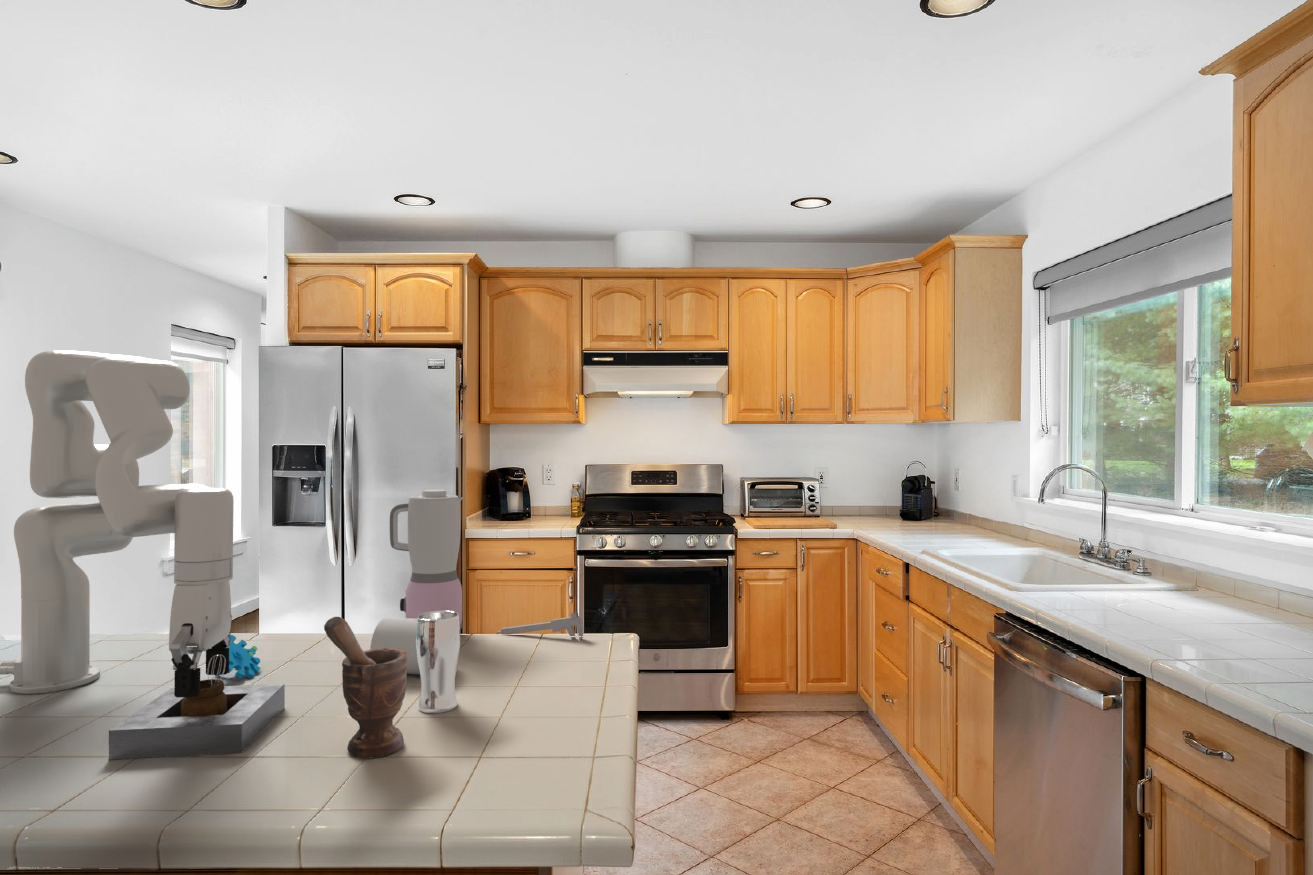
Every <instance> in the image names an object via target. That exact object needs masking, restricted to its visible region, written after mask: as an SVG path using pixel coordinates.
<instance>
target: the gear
mask: <svg viewBox="0 0 1313 875" xmlns="http://www.w3.org/2000/svg"><path fill="white" fill-rule="evenodd" d="M229 639H230V646H229V647H226V648H229V672H228V673H227V674H230V673H231V672H232V671H233V670H234V669H235V670H237V672H235V674H234V675H235V677H237V678H239V679H242V678H243V677H244V676H245V677H246V678H248V679H251V678H253V677H254V676H255V675H256V674H257V673H258V672H259V671H260V670H261V667H260V666H258V665H259V664H260V663H261V659H260V657H257V656H254V655H255V654H256V652H257V651H258V647H257V646H255V645H253V646H252V647H251V648H245V647H246V646H247V645H248V643H247V642H246V641H245V640H244V639H241V640H240V641H238V643H235V640H236V639H237V637H236V636H235V635H233V634H230V636H229ZM214 676H215V677H217V678H218V677H221V675H214Z"/></svg>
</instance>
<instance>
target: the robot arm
mask: <svg viewBox="0 0 1313 875" xmlns="http://www.w3.org/2000/svg"><path fill="white" fill-rule="evenodd" d="M24 388H25V393H26V396H27V400H28V403H29V407H30V410H31V415H32V435H31V446H30V447H31V448H30V462H29V484H30V488H31V490H32V492H34V494H36V495H37V496H39V497H42V498H47V499H72V498H73V499H74V498H75V499H76V498H89V497H90V498H92V497H94V498H95V497H97V499H98V501H99V502H87V503H65V504H64V503H63V504H50V505H42V506H38V507H35V508H31V509H29V510H26V511H25V512H23V513H22V514H21V515H20V516H18V517H17V519H16V520H15V523H14V525H13V526H14V527H13V538H14V544H15V548H16V553H17V556H18V557H17V558H18V563H19V573H20V594H21V595H20V599H21V602H20V604H21V605H20V606H21V607H20V608H21V611H20V612H21V616H20V618H21V621H20V623H21V624H20V625H21V626H20V630H21V631H20V632H21V633H20V635H21V636H20V641H21V642H20V654H21V655H20V657H21V658H20V659H19V660H3V661H1V663H0V675H13V679H12V680H11V681H10V682H9V686H8V688H9V691H10V692H11V693H14V694H23V695H25V694H26V695H27V694H28V695H33V694H44V693H45V694H47V693H51V692H57V691H58V692H59V691H64V690H69V689H72V688H76V687H80V686H83V685H87V684H88V683H92V682H93V681H96V680H97V679H98V678H99V677H100V676H101V669H100V668H99V667H97V666H94V665H90V659H91V658H90V657H91V656H90V654H91V652H90V651H91V650H90V649H91V648H90V646H91V645H90V643H91V642H90V637H91V636H90V635H91V634H90V630H91V629H90V622H91V621H90V620H91V618H90V617H91V616H90V612H91V611H90V605H91V604H90V602H91V600H90V598H91V597H90V590H91V588H90V586H91V585H90V580H89V577H88V575H87V574H86V572H85V571H84V570H83V569H82V568H81V567H80V566H79V565H78V564H77V563H76V562H75V561H74V558H79V557H83V556H91V555H99V554H107V553H114V552H119V551H122V550H124V549H125V548H127V547H128V546H129V545H130V544H131V543H132V541H133V538H139V537H148V536H149V537H150V536H157V535H158V536H159V535H166V534H167V535H168V534H174V546H173V547H174V548H173V549H174V550H173V551H174V554H173V555H174V560H173V566H174V567H173V569H174V570H173V583H174V584H175V585H174V590H173V594H172V595H173V596H172V601H171V607H170V617H169V618H170V619H169V620H170V621H169V634H168V636H169V637H168V649H169V650H168V651H169V652H170V654H171V657H172V658H171V663H172V664H173V666H172V670H173V671H174V683H173V684H174V695H175V697H197V696H198V695H200V681H201V667H198V666H199V663H200V659H201V656H202V654H203V653H204V652H205V674H206V675H207V676H211V673H212V676H215V675H217V673H218V675H219V674H220V676H224V675H225V676H226V675H227V674H229V673H228V672H229V648H226V647H229V646H230V639H229V636H230V635H231V634H232V629H231V628H232V627H231V626H232V622H233V621H232V620H233V615H232V602H231V601H232V600H231V598H232V597H231V585H230V584H231V583H230V581H231V580H233V578H234V574H233V573H234V504H235V503H234V496H233V495H234V494H233V493H232V491H231V490H229V489H228V488H225V487H210V486H208V485H206V484H202V483H193V482H192V483H190V482H189V483H174V484H173V483H169V484H150V485H149V484H148V485H147V484H146V485H140V467H139V463H138V459H141V458H144V457H146V456H148V455H151V454H154V453H155V452H156V451H158V450H160V449H162V448H163V447H164V446H166V445H167V444H168V443H169V442H170V440H171V438H172V437H173V433H174V428H173V425H172V423H171V421H170V419H169V417H168V415H167V412H166V411H165V410H177V409H179V408H181V407H182V406H184V405H185V404H186V403H187V402H188V399H189V397H190V391H191V389H190V388H191V387H190V381H189V377H188V376H187V373H186V372H185V370H184V369H183V368H182V367H180V366H179V365H178V364H177V363H175V362H173V361H169V360H161V359H155V358H150V357H148V358H147V357H143V356H135V355H128V354H127V355H125V354H113V353H112V354H111V353H103V352H102V353H101V352H93V351H82V350H69V349H67V350H65V349H64V350H63V349H59V350H46V351H42V352H40V353H37V354H35V355H34V356H32V358H31V359H30V360H29V362H28V364H27V366H26V368H25V374H24ZM83 402H93V405H94V407H95V409H96V412H97V413H98V416H99V418H100V421H101V423H102V425H103V428H104V431H105V432H106V434H107V436H108V438H109V441H110V443H109V444H94V433H95V421H94V417H93V415H92V413H91V411H90V410H89V409H88V408H87V406H86V405H85V403H83ZM218 654H220V655H218ZM190 655H192V658H191V657H190ZM214 655H216V657H215V656H214ZM222 655H223V656H224V657H225V658H224V657H223V656H222ZM217 656H218V657H217ZM220 656H221V658H222V660H221V659H220ZM214 658H215V659H214ZM216 658H217V659H216ZM210 659H212V660H210ZM225 659H226V661H225ZM209 661H211V662H209ZM213 661H214V663H213ZM215 661H216V662H215ZM221 662H222V665H221ZM225 662H226V665H225V666H224V664H225ZM219 663H220V665H219ZM209 664H210V666H209V667H208V665H209ZM212 666H213V668H212ZM214 666H215V667H214ZM208 669H209V671H208ZM218 669H219V671H218ZM220 669H221V671H220ZM224 669H225V671H223V670H224ZM207 671H208V674H207ZM213 671H214V673H213ZM222 673H224V674H222Z"/></svg>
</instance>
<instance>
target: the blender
mask: <svg viewBox="0 0 1313 875" xmlns="http://www.w3.org/2000/svg"><path fill="white" fill-rule="evenodd" d="M463 499H464V497H461V496H458V495H454V494H447V490H446V489H425V490H424V489H423V490H422V492H421V495H413V496H409V498H408V503H401V504H396V505H395V506H393V508H392V509H391V511H390V512H389V542H390V546H391V548H393V549H394V550H397V551H402V552H408V553H409V560H410V563H411V576H410V579H409V581H408V583H407V585H406V586H405V591H404V593H405V596H404V598H401V599H400V601H399V602H400V603H399V610H400V612H404V613H405V618H412V619H417V616H418V615H420V614H422V613H426V612H431V611H454V612H457V613H458V614H459V625H460V630H462V629H463V622H464V621H463V588H462V584H461V581H460V579H459V577H458V574H457V564H458V558H459V551H460V545H461V501H462V500H463ZM404 512H407V542H400V541H399V531H398V530H399V529H398V528H399V514H400V513H404Z"/></svg>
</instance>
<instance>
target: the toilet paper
mask: <svg viewBox="0 0 1313 875" xmlns="http://www.w3.org/2000/svg"><path fill="white" fill-rule="evenodd" d="M416 629H417V619H412V618H406V617H384V618H382V619H381V620H380V621H379V622H378V623H377V625H376V626H375V628H374V631H373V633H372V637H371V641H370V648H369V650H372V649H383V648H388V649H393V648H394V649H400V650H404V651H405V652H407V653H408V654H407V671H406V673H407V675H417V676H418V675H419V676H420V672H419V667H418V661H417V654H416Z"/></svg>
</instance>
